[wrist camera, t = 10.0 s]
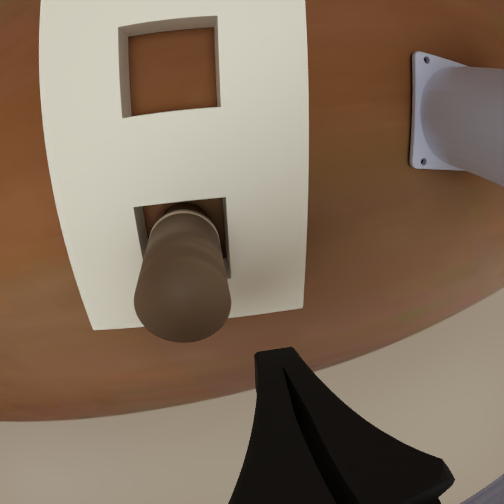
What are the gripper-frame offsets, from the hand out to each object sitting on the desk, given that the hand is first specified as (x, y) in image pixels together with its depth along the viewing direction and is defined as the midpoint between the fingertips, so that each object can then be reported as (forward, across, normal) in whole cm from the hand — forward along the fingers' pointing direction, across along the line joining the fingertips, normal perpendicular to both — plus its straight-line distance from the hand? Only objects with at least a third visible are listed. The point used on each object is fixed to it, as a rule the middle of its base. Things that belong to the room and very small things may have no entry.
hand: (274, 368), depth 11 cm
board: (+10, +3, -7) cm, 12 cm away
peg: (+10, +3, -2) cm, 11 cm away
